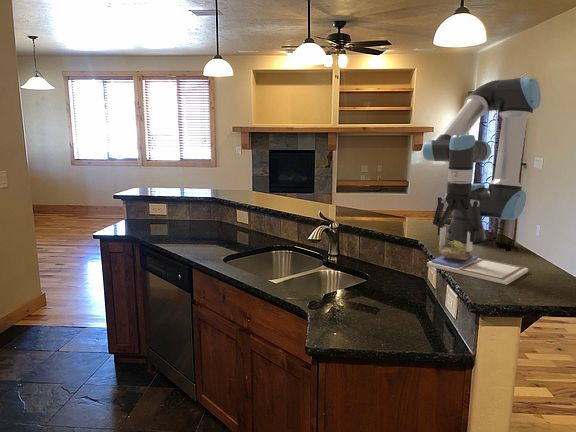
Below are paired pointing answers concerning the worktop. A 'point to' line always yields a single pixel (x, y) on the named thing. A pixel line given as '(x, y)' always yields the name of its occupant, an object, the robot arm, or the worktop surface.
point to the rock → (454, 251)
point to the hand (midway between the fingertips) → (455, 248)
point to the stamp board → (480, 268)
